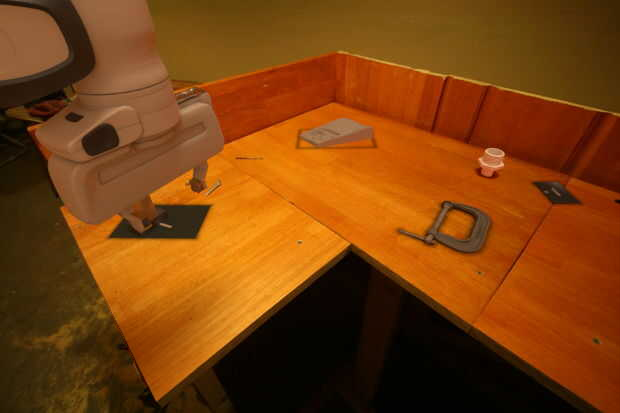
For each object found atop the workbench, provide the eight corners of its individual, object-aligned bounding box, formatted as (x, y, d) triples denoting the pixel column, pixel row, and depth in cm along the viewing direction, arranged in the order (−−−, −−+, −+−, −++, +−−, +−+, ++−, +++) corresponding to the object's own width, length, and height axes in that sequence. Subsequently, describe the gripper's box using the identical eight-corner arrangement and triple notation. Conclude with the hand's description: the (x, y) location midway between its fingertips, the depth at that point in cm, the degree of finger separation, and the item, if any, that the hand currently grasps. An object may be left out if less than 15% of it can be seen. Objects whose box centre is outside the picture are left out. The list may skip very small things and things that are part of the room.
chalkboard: (109, 239, 76) (108, 237, 75) (135, 206, 86) (134, 204, 85) (196, 240, 75) (195, 237, 74) (211, 207, 85) (210, 204, 84)
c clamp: (469, 268, 66) (473, 259, 64) (397, 233, 75) (399, 225, 73) (496, 220, 78) (500, 212, 76) (431, 195, 87) (434, 187, 85)
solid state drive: (552, 204, 82) (553, 202, 81) (532, 183, 90) (533, 181, 89) (579, 204, 82) (580, 202, 81) (556, 183, 89) (558, 181, 89)
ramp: (297, 149, 110) (297, 136, 107) (299, 131, 122) (299, 118, 119) (375, 148, 109) (376, 134, 106) (369, 130, 121) (370, 117, 118)
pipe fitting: (492, 169, 97) (501, 146, 92) (500, 181, 91) (511, 158, 86) (471, 168, 97) (479, 146, 92) (478, 181, 92) (487, 157, 87)
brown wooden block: (142, 236, 75) (126, 205, 69) (129, 230, 77) (113, 198, 71) (168, 217, 81) (155, 186, 74) (155, 212, 83) (142, 181, 76)
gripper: (189, 79, 41) (212, 166, 50) (13, 139, 27) (87, 245, 36) (223, 85, 38) (241, 177, 47) (48, 155, 25) (118, 266, 34)
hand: (173, 207), depth 41 cm, fingers open, 8 cm apart
